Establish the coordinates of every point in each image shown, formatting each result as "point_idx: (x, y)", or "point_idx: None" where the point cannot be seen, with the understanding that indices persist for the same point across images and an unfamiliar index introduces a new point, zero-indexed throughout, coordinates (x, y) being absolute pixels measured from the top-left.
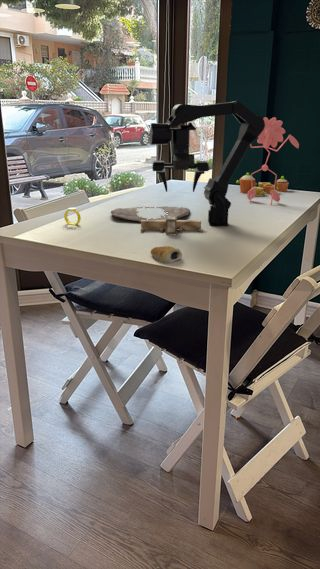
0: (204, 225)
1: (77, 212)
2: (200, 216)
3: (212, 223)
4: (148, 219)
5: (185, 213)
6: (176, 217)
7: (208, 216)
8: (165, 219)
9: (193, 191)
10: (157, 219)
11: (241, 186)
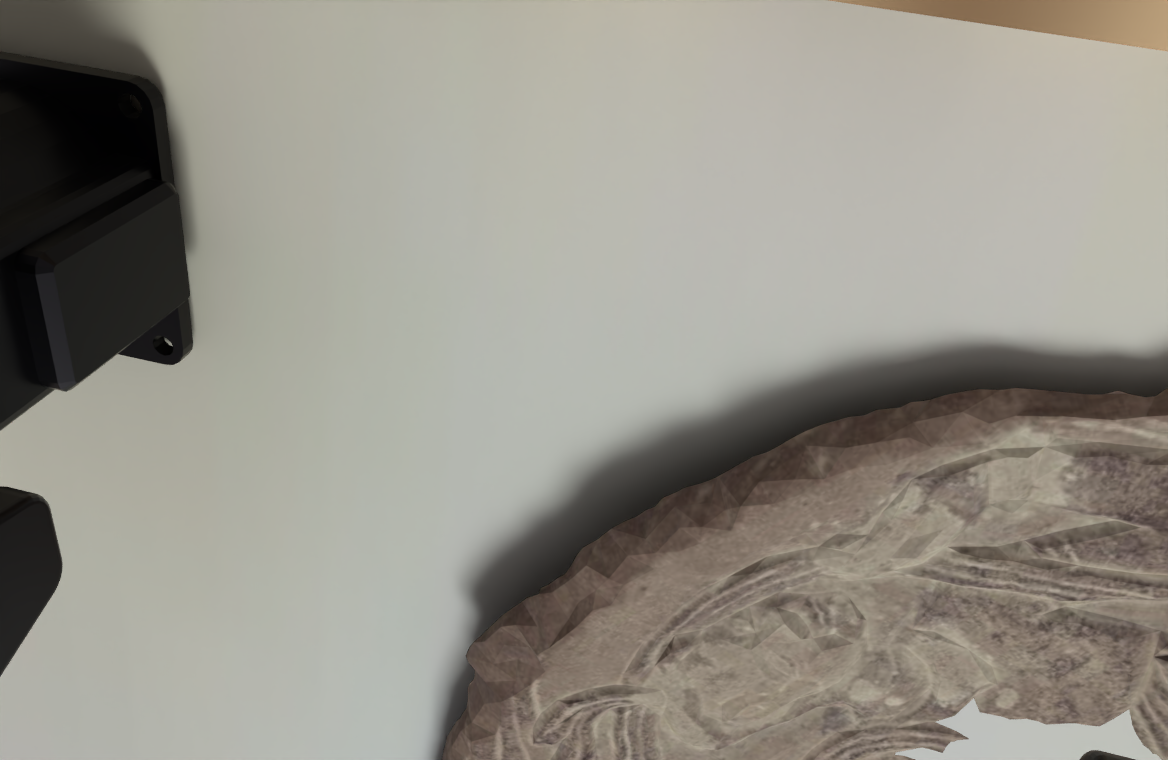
0: (260, 144)
1: None
2: (314, 636)
3: (116, 147)
4: (1142, 659)
5: (505, 673)
6: (682, 519)
7: (121, 259)
8: (886, 510)
9: (11, 489)
10: (1000, 598)
11: None
